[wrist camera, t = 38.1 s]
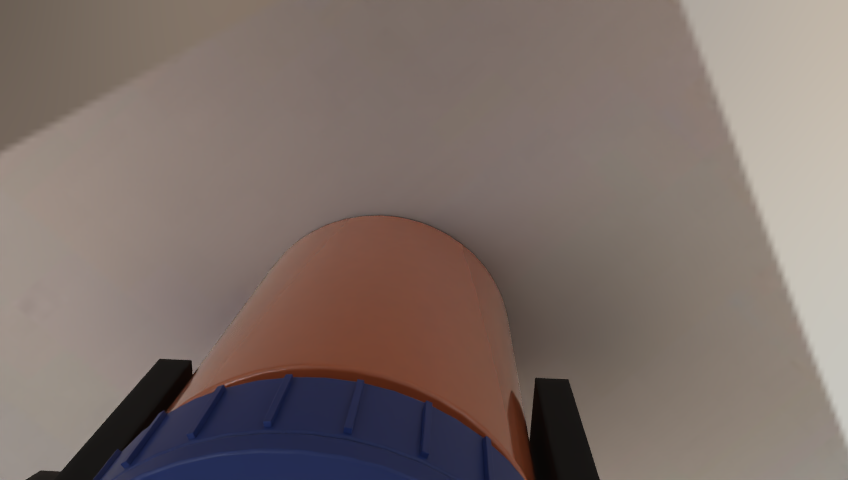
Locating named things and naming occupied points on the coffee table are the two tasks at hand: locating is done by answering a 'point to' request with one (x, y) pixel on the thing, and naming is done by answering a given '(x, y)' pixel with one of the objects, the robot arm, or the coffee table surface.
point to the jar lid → (307, 437)
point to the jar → (381, 326)
